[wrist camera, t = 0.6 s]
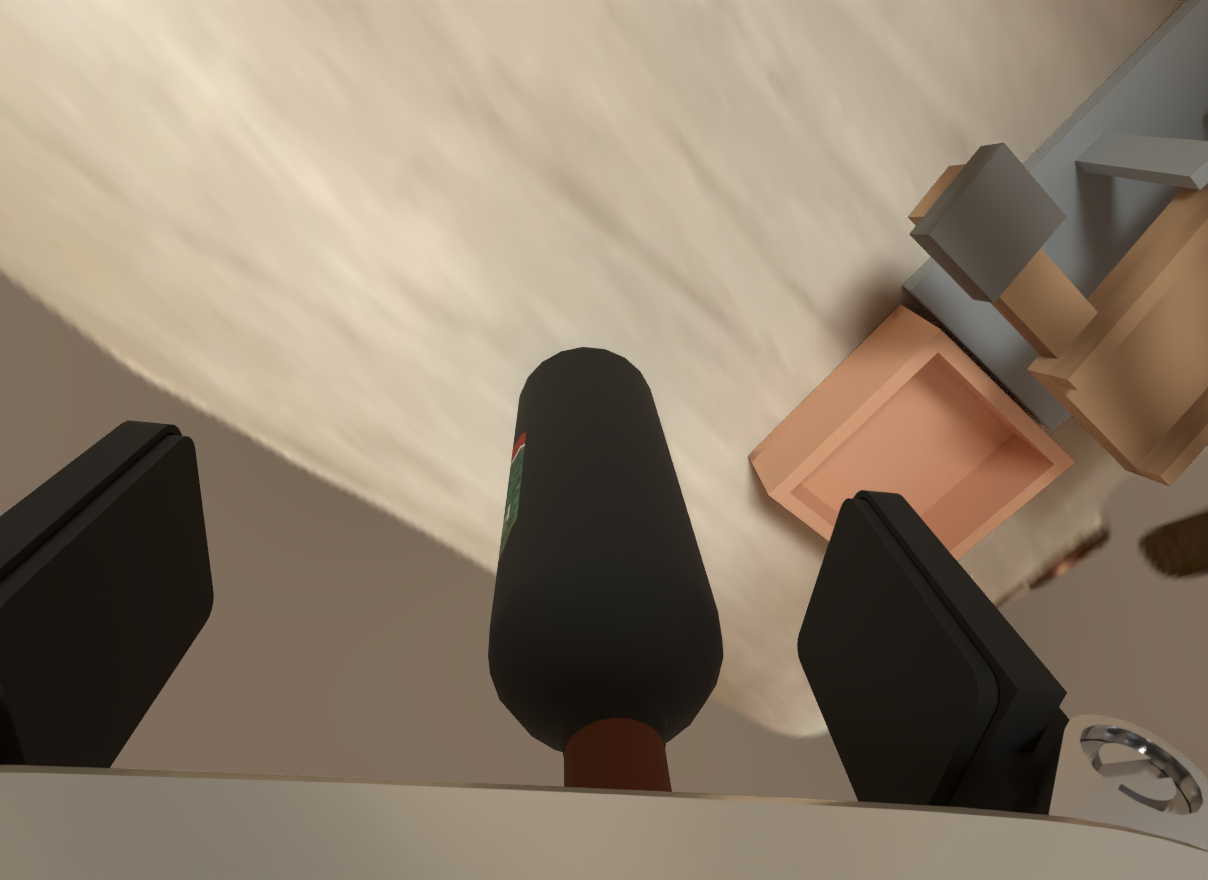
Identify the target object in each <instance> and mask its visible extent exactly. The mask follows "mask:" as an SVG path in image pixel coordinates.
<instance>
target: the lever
mask: <svg viewBox="0 0 1208 880" xmlns="http://www.w3.org/2000/svg"><path fill="white" fill-rule="evenodd" d="M1066 217H1067V216H1066V215H1065V214H1064V213H1063V212H1062V210H1061V209H1060V208H1059V207H1058V206H1057V205H1056V203H1055V202H1054V201H1053V200H1052V199H1051V198H1050V196H1049V195H1048V194H1047V193H1046V192H1045V190H1044V189H1043V188H1042V187H1041V186H1040V185H1039V183H1038V182H1037V181H1036V180H1035V179H1034V178H1033V176H1032V175H1031V174H1030V173H1029V172H1028V170H1027V169H1026V168H1025V167H1024V166H1023V165H1022V163H1021V162H1020V161H1019V160H1018V159H1017V158H1016V156H1015V155H1014V154H1013V153H1012V152H1011V150H1010V149H1009V148H1008V147H1007V146H1006V145H1005V143H999V144H993V145H986V146H981V147H980V148H979V149H978V150H977V152H976V153H975V154H974V155H973V156H972V158H971V159H970V160H969V161H968V163H967V164H963V165H955V166H949V167H948V168H947V169H946V171H945V172H944V173H943V174H942V175H941V177H940V178H939V179H938V180H937V182H936V183H935V184H934V185H933V187H932V188H931V189H930V190H929V191H928V193H927V194H926V195H925V196H924V198H923V199H922V200H921V201H920V203H919V204H918V205H917V206H916V208H915V209H914V210H913V211H912V212H911V214H910V215H909V216H908V218H909V219H910V220H911V221H912V222H913V223H914V224H915V225H916V227H915V228H914V229H913V230H912V231H911V233H910V235H911V236H912V237H913V238H914V239H915V240H916V242H917V243H918V244H919V245H920V246H921V247H922V248H923V249H924V250H925V251H926V252H927V253H928V254H929V255H930V256H931V257H932V258H933V259H934V260H935V261H936V262H937V263H938V264H939V265H940V266H941V267H942V268H943V269H944V270H945V271H946V272H947V273H948V274H949V276H950V277H951V278H952V279H953V280H954V281H955V282H956V283H957V284H958V285H959V286H960V287H961V288H962V289H963V290H964V291H965V292H966V293H967V294H968V295H969V296H970V297H971V298H972V299H973V300H978V301H985V302H990V303H991V304H992V305H993V306H994V307H995V308H996V310H997V311H998V312H999V313H1000V314H1001V315H1002V316H1003V317H1004V318H1005V319H1006V320H1007V321H1008V322H1009V323H1010V324H1011V325H1012V326H1013V327H1014V328H1015V329H1016V330H1017V331H1018V332H1019V333H1020V335H1021V336H1022V337H1023V338H1024V339H1025V340H1026V341H1027V342H1028V343H1029V344H1030V345H1031V346H1032V347H1033V348H1034V349H1035V350H1036V351H1037V352H1038V353H1039V354H1040V355H1039V356H1038V357H1037V358H1036V359H1035V361H1034V362H1033V363H1032V364H1031V365H1030V366H1029V368H1028V369H1027V370H1028V371H1029V372H1030V373H1031V374H1032V375H1033V376H1034V377H1035V378H1036V379H1037V380H1038V381H1039V382H1040V383H1041V384H1042V385H1043V386H1044V387H1045V388H1046V389H1047V390H1048V391H1049V392H1050V393H1051V394H1052V395H1053V396H1054V397H1055V398H1056V399H1057V400H1058V401H1059V402H1060V403H1061V404H1062V405H1063V407H1064V408H1065V409H1066V410H1067V411H1068V412H1069V413H1070V414H1071V415H1072V416H1073V417H1074V418H1075V419H1076V420H1077V421H1078V422H1079V423H1080V424H1081V425H1082V426H1083V427H1084V428H1085V429H1086V430H1087V431H1088V432H1089V433H1090V434H1091V435H1092V436H1093V437H1094V438H1095V439H1096V440H1097V441H1098V442H1099V443H1100V444H1101V445H1102V446H1103V447H1104V448H1105V449H1106V450H1107V451H1108V452H1109V453H1110V454H1111V455H1112V456H1113V458H1114V459H1115V460H1116V461H1117V462H1118V463H1119V464H1120V465H1121V466H1122V467H1123V468H1124V469H1125V470H1127V471H1130V472H1133V473H1135V474H1138V475H1141V476H1144V477H1146V478H1149V479H1151V480H1155V481H1157V482H1160V483H1162V484H1165V485H1168V486H1170V485H1171V484H1172V483H1173V482H1174V481H1175V480H1176V479H1177V478H1178V477H1179V476H1180V474H1181V473H1182V472H1183V471H1184V470H1185V469H1186V468H1187V467H1188V466H1189V465H1190V463H1191V462H1192V461H1193V460H1194V459H1195V458H1196V457H1197V456H1198V455H1199V454H1200V452H1201V451H1202V450H1203V449H1204V448H1205V447H1206V446H1207V445H1208V183H1207V184H1206V185H1205V186H1204V187H1203V188H1202V189H1201V190H1197V189H1190V188H1184V187H1183V188H1182V190H1181V191H1180V192H1179V193H1178V194H1177V195H1176V197H1175V198H1174V199H1173V200H1172V201H1171V202H1170V204H1169V205H1168V206H1167V207H1166V208H1165V209H1164V210H1163V212H1162V213H1161V214H1160V215H1159V216H1158V217H1157V219H1156V220H1155V221H1154V222H1153V223H1152V224H1151V226H1150V227H1149V228H1148V229H1147V230H1146V231H1145V233H1144V234H1143V235H1142V236H1141V237H1140V238H1139V240H1138V241H1137V242H1136V243H1135V244H1134V245H1133V247H1132V248H1131V249H1130V250H1129V251H1128V252H1127V254H1126V255H1125V256H1124V257H1123V258H1122V259H1121V261H1120V262H1119V263H1118V264H1117V265H1116V266H1115V268H1114V269H1113V270H1112V271H1111V272H1110V273H1109V275H1108V276H1107V277H1106V278H1105V279H1104V280H1103V281H1102V283H1101V284H1100V285H1099V286H1098V287H1097V288H1096V290H1095V291H1094V292H1093V293H1092V294H1091V295H1090V297H1089V298H1088V299H1087V300H1086V298H1085V297H1084V296H1083V295H1082V294H1081V293H1080V292H1079V291H1078V289H1077V288H1076V287H1075V286H1074V285H1073V284H1072V283H1071V282H1070V280H1069V279H1068V278H1067V277H1066V276H1065V275H1064V274H1063V273H1062V271H1061V270H1060V269H1059V268H1058V267H1057V266H1056V265H1055V264H1054V262H1053V261H1052V260H1051V259H1050V258H1049V257H1048V256H1047V254H1046V253H1045V252H1044V251H1043V250H1042V249H1041V247H1042V246H1043V245H1044V243H1045V242H1046V241H1047V240H1048V239H1049V237H1050V236H1051V235H1052V234H1053V233H1054V231H1055V230H1056V229H1057V228H1058V227H1059V226H1060V224H1061V223H1062V222H1063V221H1064V220H1065V218H1066Z"/></svg>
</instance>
